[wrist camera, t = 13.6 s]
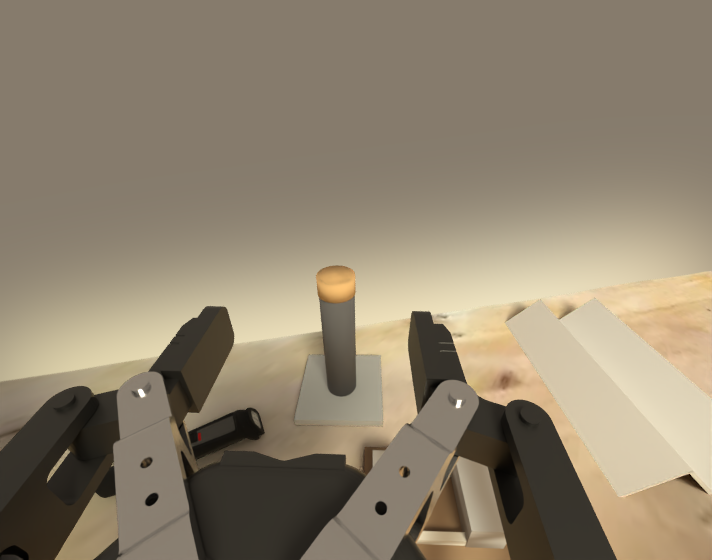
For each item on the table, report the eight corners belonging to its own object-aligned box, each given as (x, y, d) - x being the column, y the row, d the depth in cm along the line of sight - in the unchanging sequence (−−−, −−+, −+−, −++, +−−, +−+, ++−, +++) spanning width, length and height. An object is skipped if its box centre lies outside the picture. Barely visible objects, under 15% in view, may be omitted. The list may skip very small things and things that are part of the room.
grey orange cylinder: (324, 396, 38) (313, 285, 29) (328, 372, 41) (319, 265, 32) (356, 397, 37) (354, 286, 29) (357, 372, 41) (356, 265, 32)
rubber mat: (295, 424, 36) (293, 419, 35) (309, 359, 44) (308, 354, 44) (382, 426, 35) (383, 421, 35) (380, 360, 44) (380, 355, 43)
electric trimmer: (106, 476, 32) (91, 460, 30) (259, 412, 38) (253, 395, 36) (100, 515, 29) (83, 499, 27) (266, 438, 35) (260, 421, 33)
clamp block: (363, 580, 24) (362, 561, 22) (364, 452, 33) (364, 429, 31) (520, 587, 24) (535, 568, 22) (481, 455, 32) (489, 432, 30)
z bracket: (644, 517, 31) (618, 497, 29) (525, 342, 52) (504, 322, 50) (791, 468, 27) (775, 440, 24) (595, 299, 48) (577, 275, 46)
